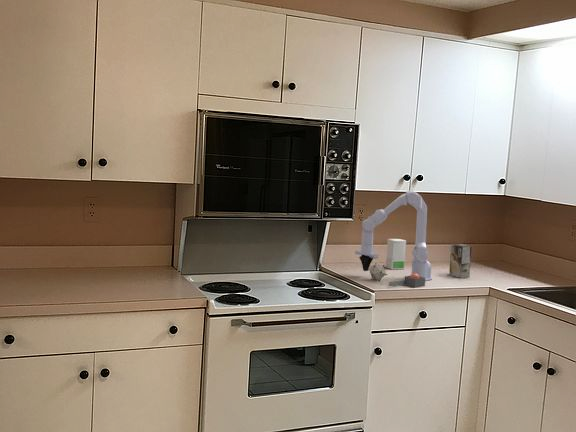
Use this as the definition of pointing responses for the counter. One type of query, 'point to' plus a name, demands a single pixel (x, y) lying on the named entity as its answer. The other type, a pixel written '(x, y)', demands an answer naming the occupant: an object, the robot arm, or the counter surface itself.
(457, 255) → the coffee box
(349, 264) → the counter surface
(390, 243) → the skincare box
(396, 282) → the bar
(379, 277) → the game die
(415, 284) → the dome housing
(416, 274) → the dome
